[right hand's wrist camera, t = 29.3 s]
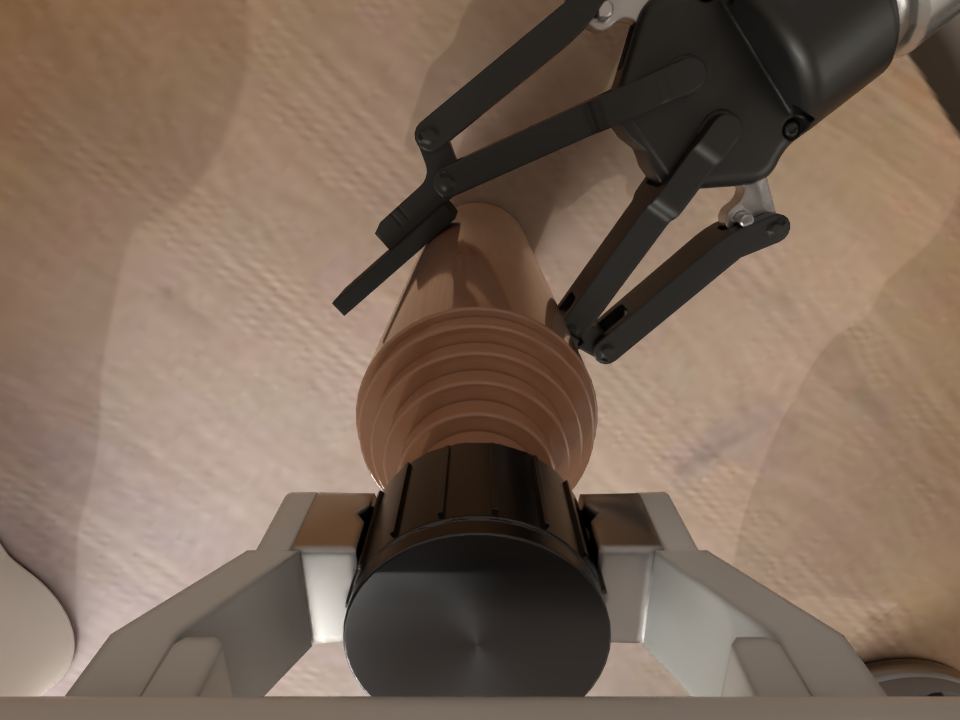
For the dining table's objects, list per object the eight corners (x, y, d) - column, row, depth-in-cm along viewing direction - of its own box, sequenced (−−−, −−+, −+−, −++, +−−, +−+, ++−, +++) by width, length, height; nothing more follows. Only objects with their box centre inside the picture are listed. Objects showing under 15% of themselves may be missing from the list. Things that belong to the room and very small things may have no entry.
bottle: (549, 236, 32) (752, 540, 8) (495, 324, 34) (538, 777, 10) (456, 181, 31) (390, 353, 7) (405, 275, 33) (224, 654, 9)
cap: (618, 474, 10) (659, 575, 8) (538, 635, 11) (554, 763, 9) (404, 410, 9) (381, 497, 7) (347, 585, 11) (312, 706, 9)
